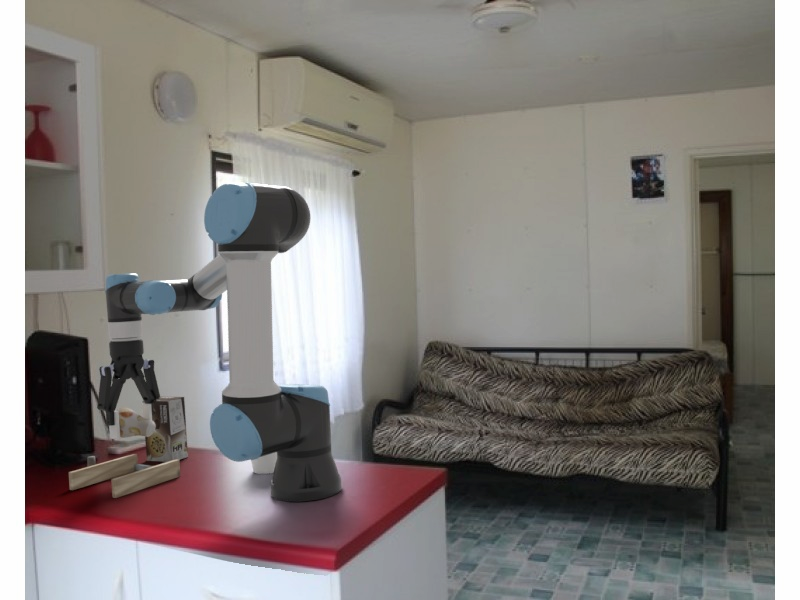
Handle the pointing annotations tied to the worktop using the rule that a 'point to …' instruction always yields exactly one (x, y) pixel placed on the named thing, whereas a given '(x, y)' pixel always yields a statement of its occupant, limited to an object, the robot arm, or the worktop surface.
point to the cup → (265, 464)
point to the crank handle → (91, 461)
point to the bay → (125, 483)
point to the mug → (134, 424)
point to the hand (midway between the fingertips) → (131, 434)
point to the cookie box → (168, 431)
